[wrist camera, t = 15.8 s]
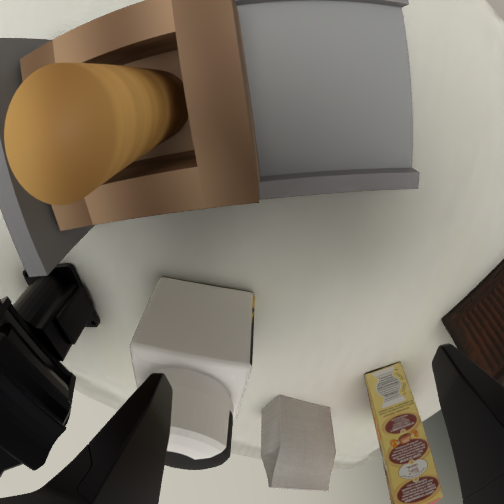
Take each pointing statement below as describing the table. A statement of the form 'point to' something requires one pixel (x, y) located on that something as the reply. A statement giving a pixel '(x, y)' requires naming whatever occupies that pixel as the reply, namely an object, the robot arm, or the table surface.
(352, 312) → the table surface
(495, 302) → the manual coffee grinder
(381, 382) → the candy box
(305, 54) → the rail board
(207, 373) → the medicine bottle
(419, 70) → the table surface
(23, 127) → the dowel
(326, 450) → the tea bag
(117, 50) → the block
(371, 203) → the table surface
